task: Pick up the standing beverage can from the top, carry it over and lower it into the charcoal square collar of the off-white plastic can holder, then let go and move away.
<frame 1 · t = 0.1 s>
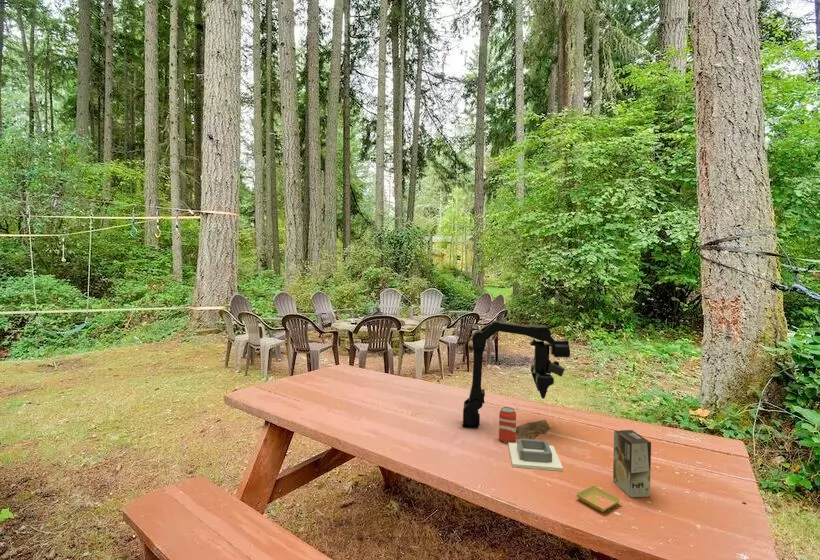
hand: (541, 394, 159), 15 cm above the table, tool pointing down, fingers open, 9 cm apart
coffee box: (630, 489, 119), on the table
olive green tray: (597, 504, 112), on the table
beverage can: (507, 440, 151), on the table
brown fossil slab: (532, 430, 161), on the table
can holder: (533, 457, 137), on the table
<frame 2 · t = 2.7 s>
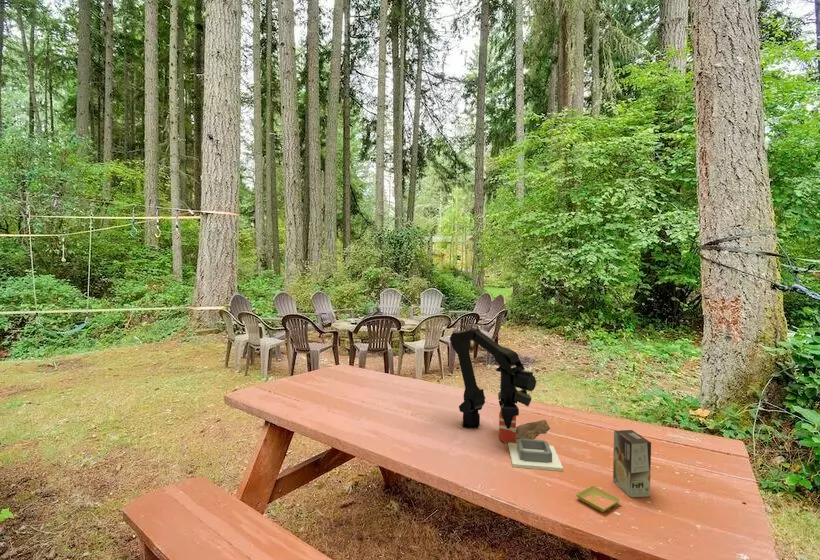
hand: (507, 424, 150), 6 cm above the table, tool pointing down, fingers closed on beverage can, 6 cm apart
beverage can: (507, 440, 151), on the table, touching gripper
everything else where it was.
when the fingers open (8 cm above the table, at t = 7.7 s): beverage can drops 1 cm, resting on can holder.
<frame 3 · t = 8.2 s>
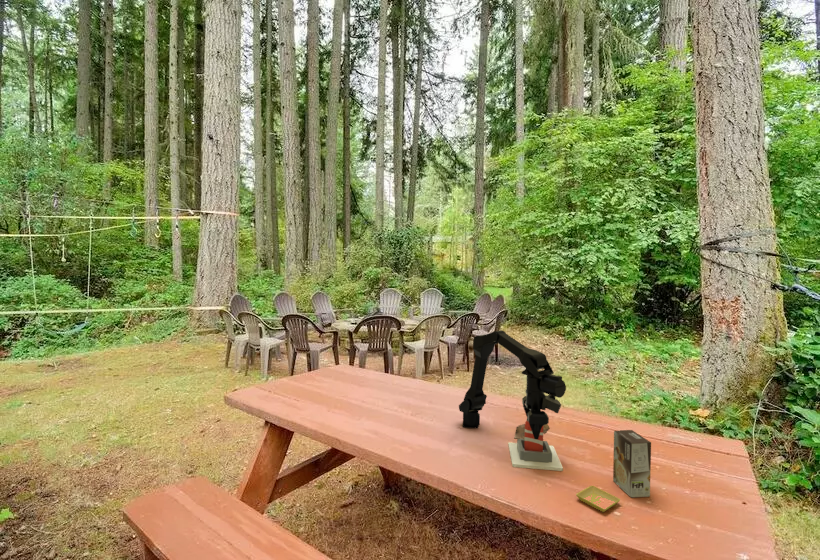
hand: (534, 433, 137), 8 cm above the table, tool pointing down, fingers open, 9 cm apart
beverage can: (533, 454, 138), point 1 cm above the table, touching can holder
everything else where it was.
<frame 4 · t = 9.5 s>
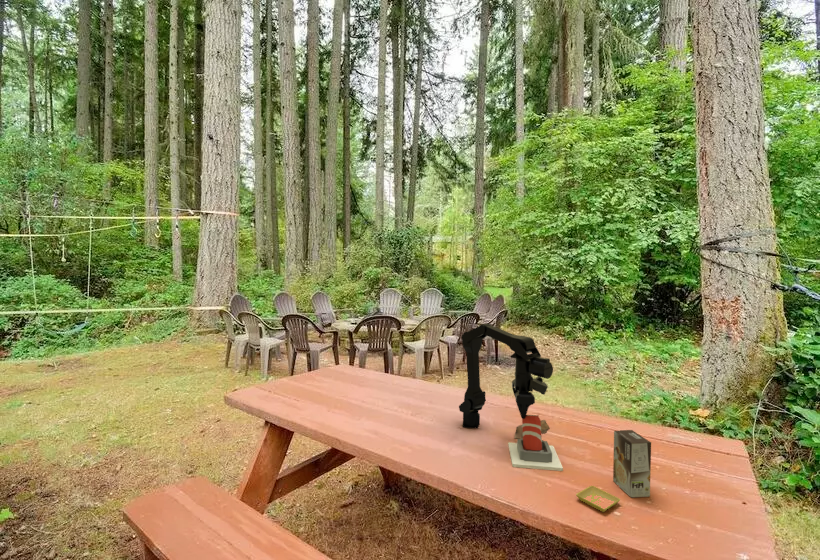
hand: (521, 413, 144), 13 cm above the table, tool pointing down, fingers open, 9 cm apart
beverage can: (532, 451, 137), point 2 cm above the table, touching can holder
everything else where it was.
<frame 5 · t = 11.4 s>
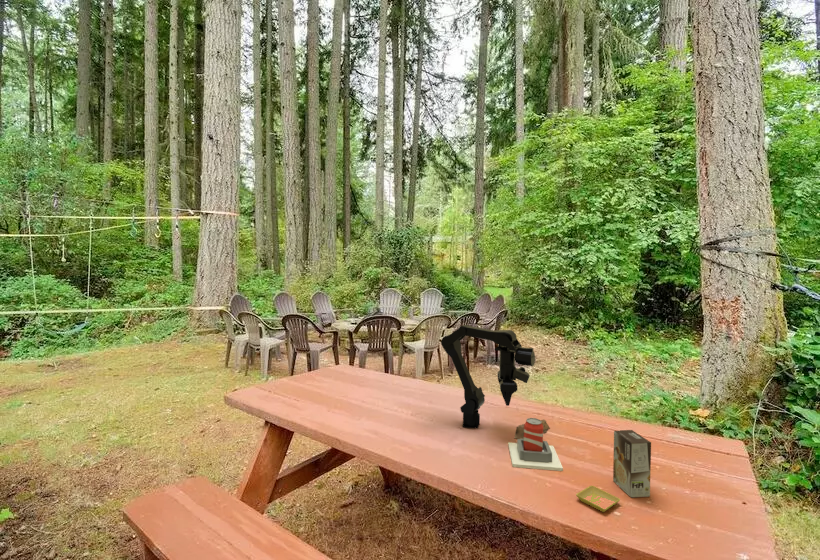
hand: (506, 401, 156), 13 cm above the table, tool pointing down, fingers open, 9 cm apart
beverage can: (532, 455, 137), point 1 cm above the table, touching can holder
everything else where it was.
at the end: beverage can 0.5 cm off-centre on the can holder, point 1.0 cm above the can holder's base; beverage can tilted 4°; the gripper is holding nothing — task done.
